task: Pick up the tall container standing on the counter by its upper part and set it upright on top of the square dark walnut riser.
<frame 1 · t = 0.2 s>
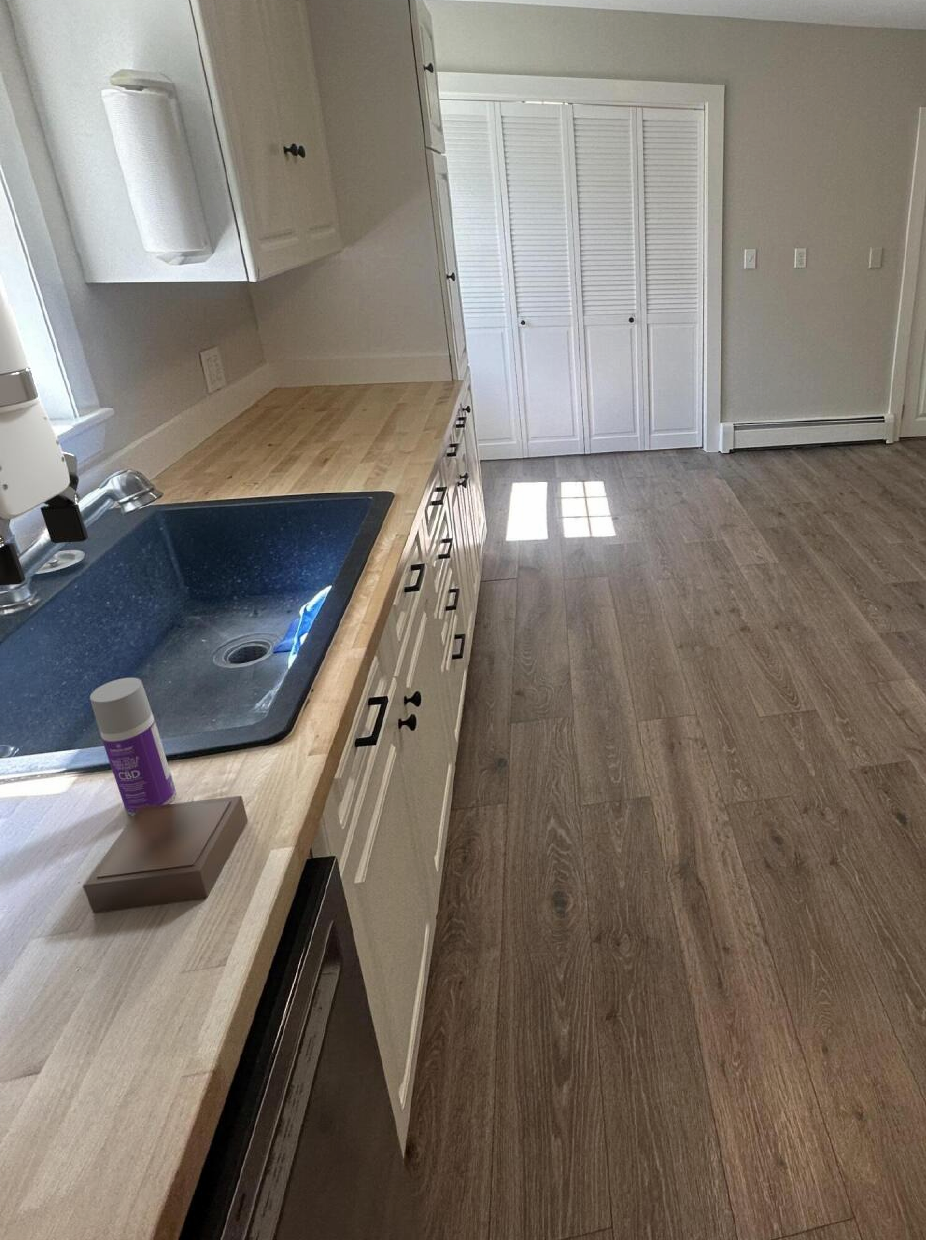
hand: (39, 561, 73), 30 cm above the counter, tool pointing down, fingers open, 9 cm apart
riser: (176, 863, 75), on the counter
container: (151, 802, 84), on the counter
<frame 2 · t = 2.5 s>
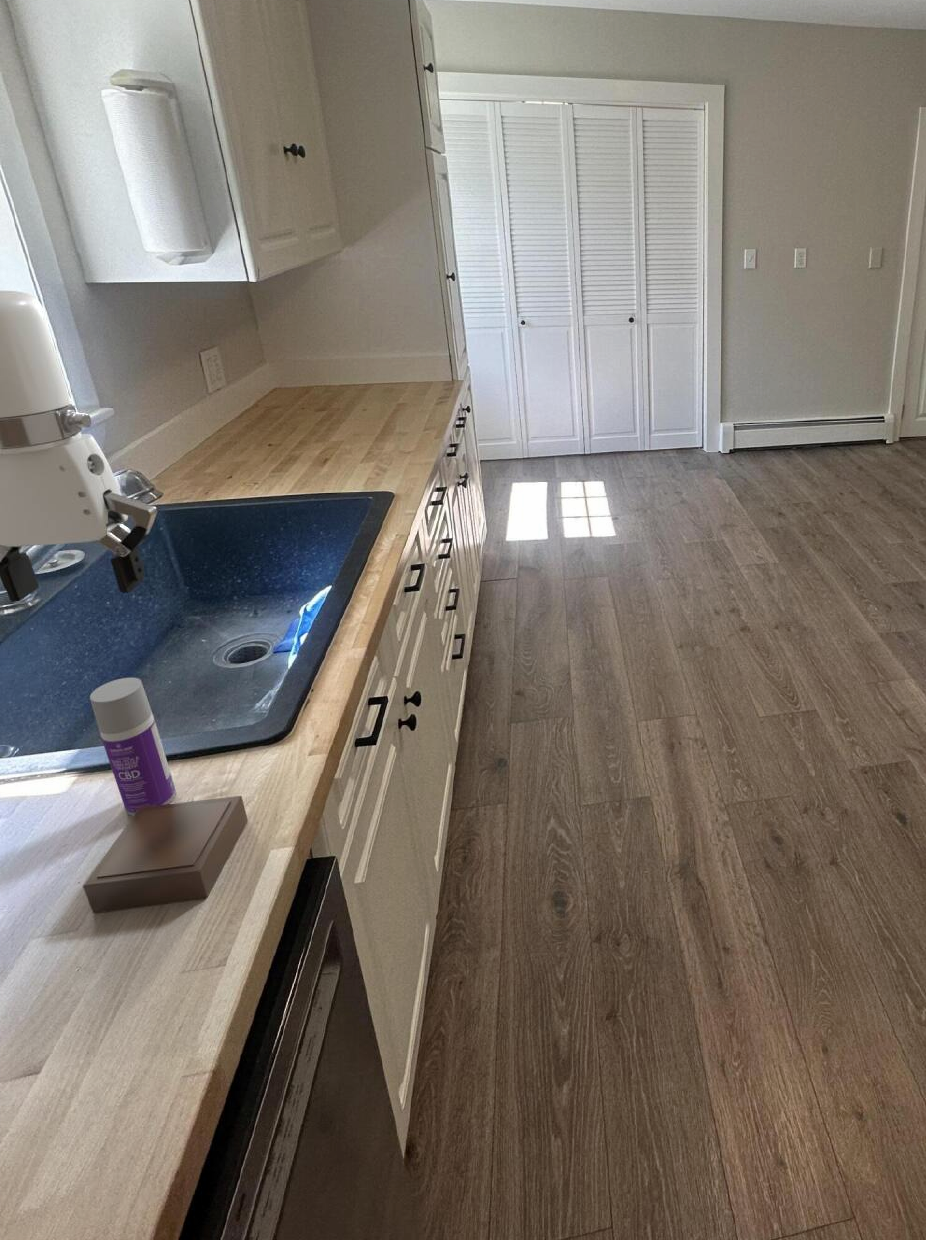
hand: (79, 591, 74), 27 cm above the counter, tool pointing down, fingers open, 9 cm apart
nothing on the counter moved.
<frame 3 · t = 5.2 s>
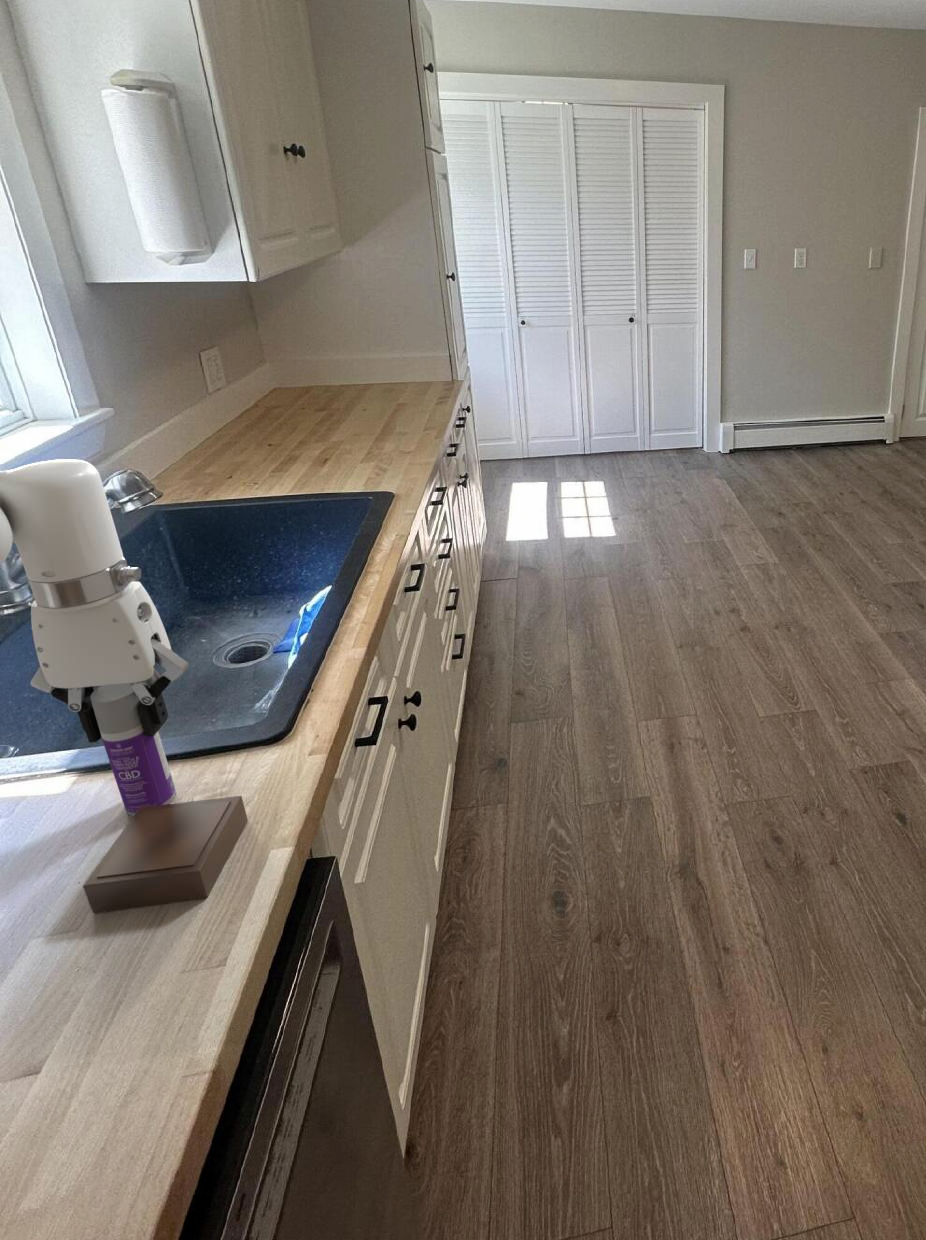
hand: (128, 729, 80), 10 cm above the counter, tool pointing down, fingers closed on container, 4 cm apart
container: (151, 802, 84), on the counter, touching gripper
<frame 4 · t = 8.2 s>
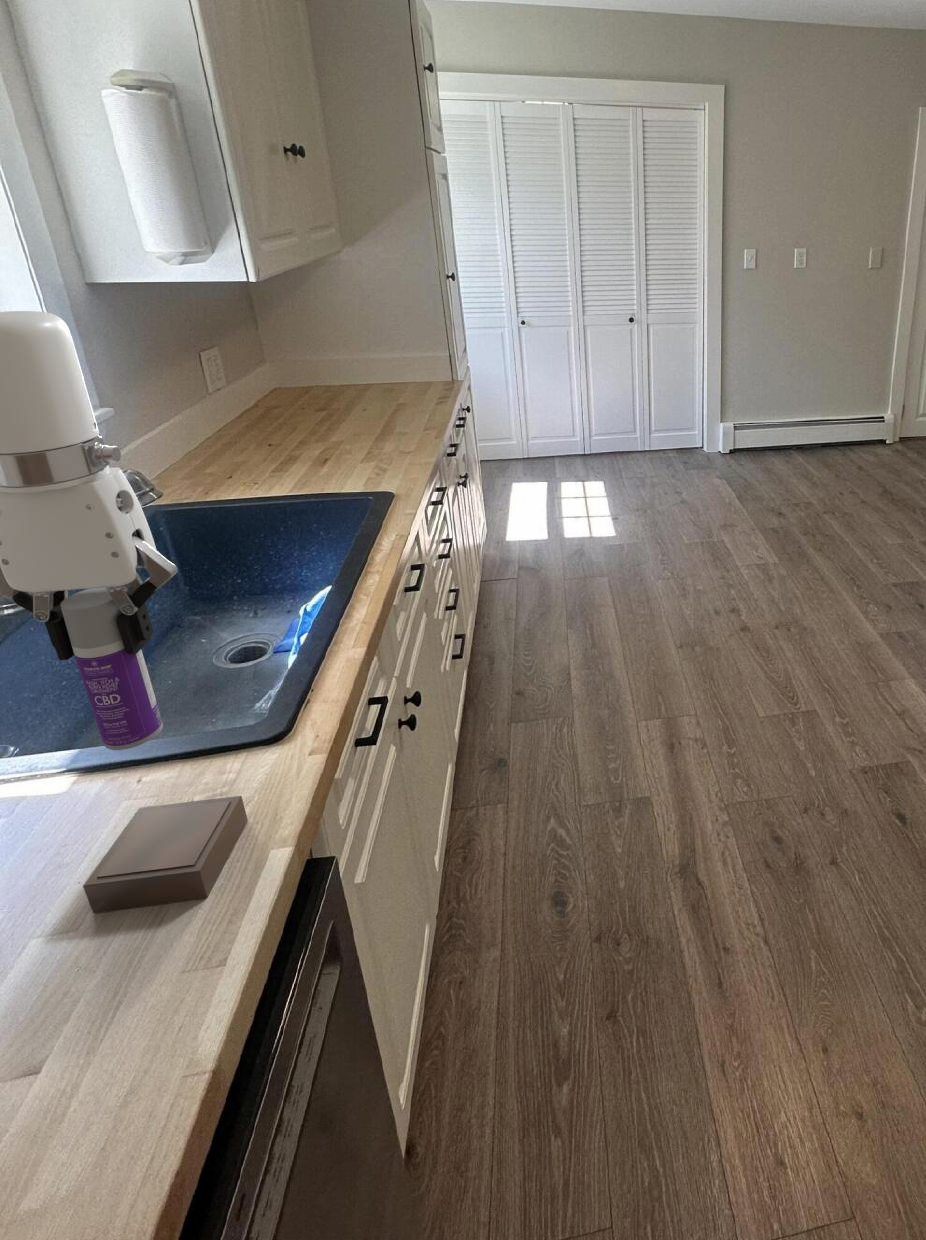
hand: (106, 647, 68), 25 cm above the counter, tool pointing down, fingers closed on container, 4 cm apart
container: (134, 735, 71), point 15 cm above the counter, touching gripper
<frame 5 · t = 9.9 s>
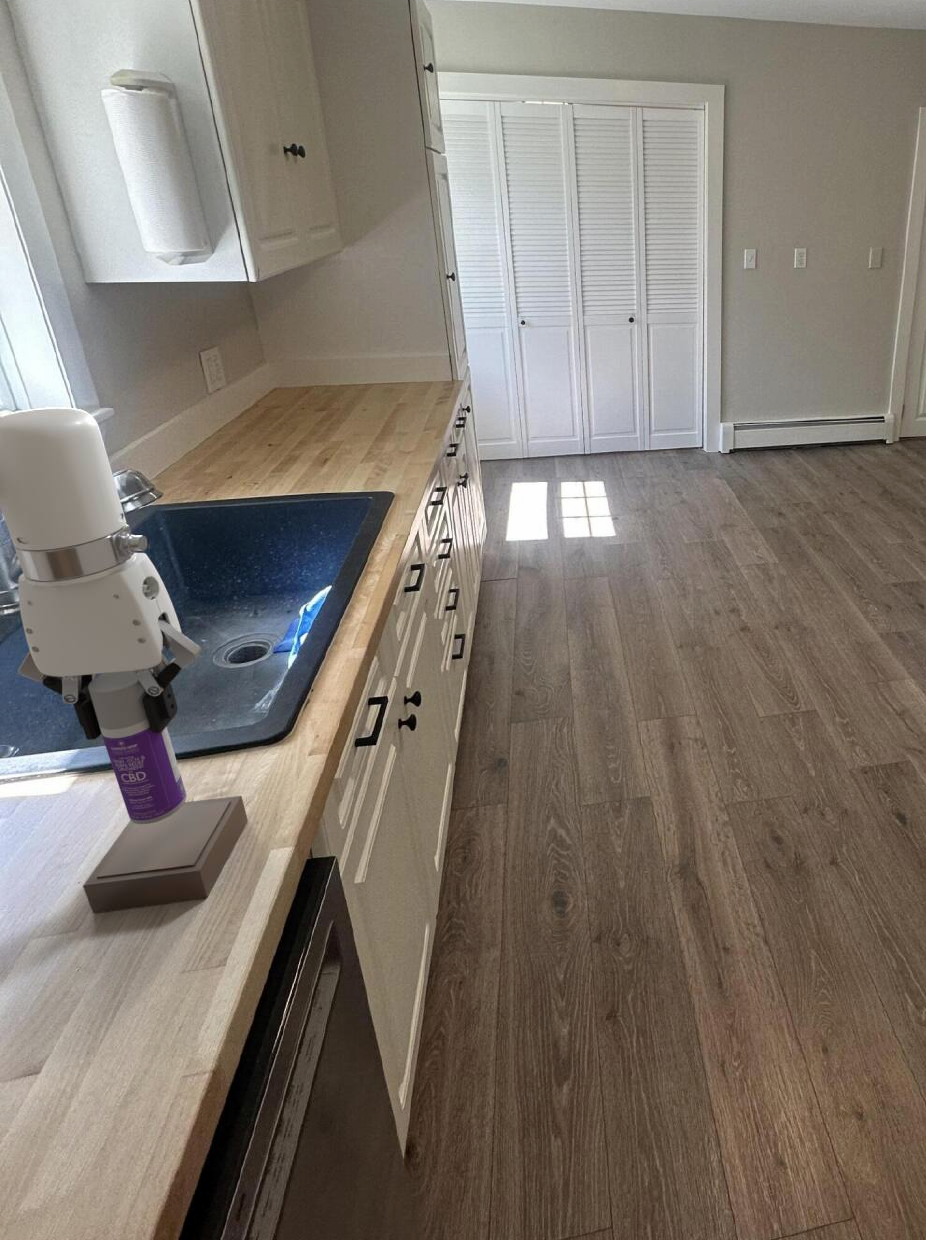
hand: (132, 725, 70), 17 cm above the counter, tool pointing down, fingers closed on container, 4 cm apart
container: (159, 808, 73), point 7 cm above the counter, touching gripper
when the fingers open (13 cm above the counter, at t = 11.2 s): container stays where it is, resting on riser.
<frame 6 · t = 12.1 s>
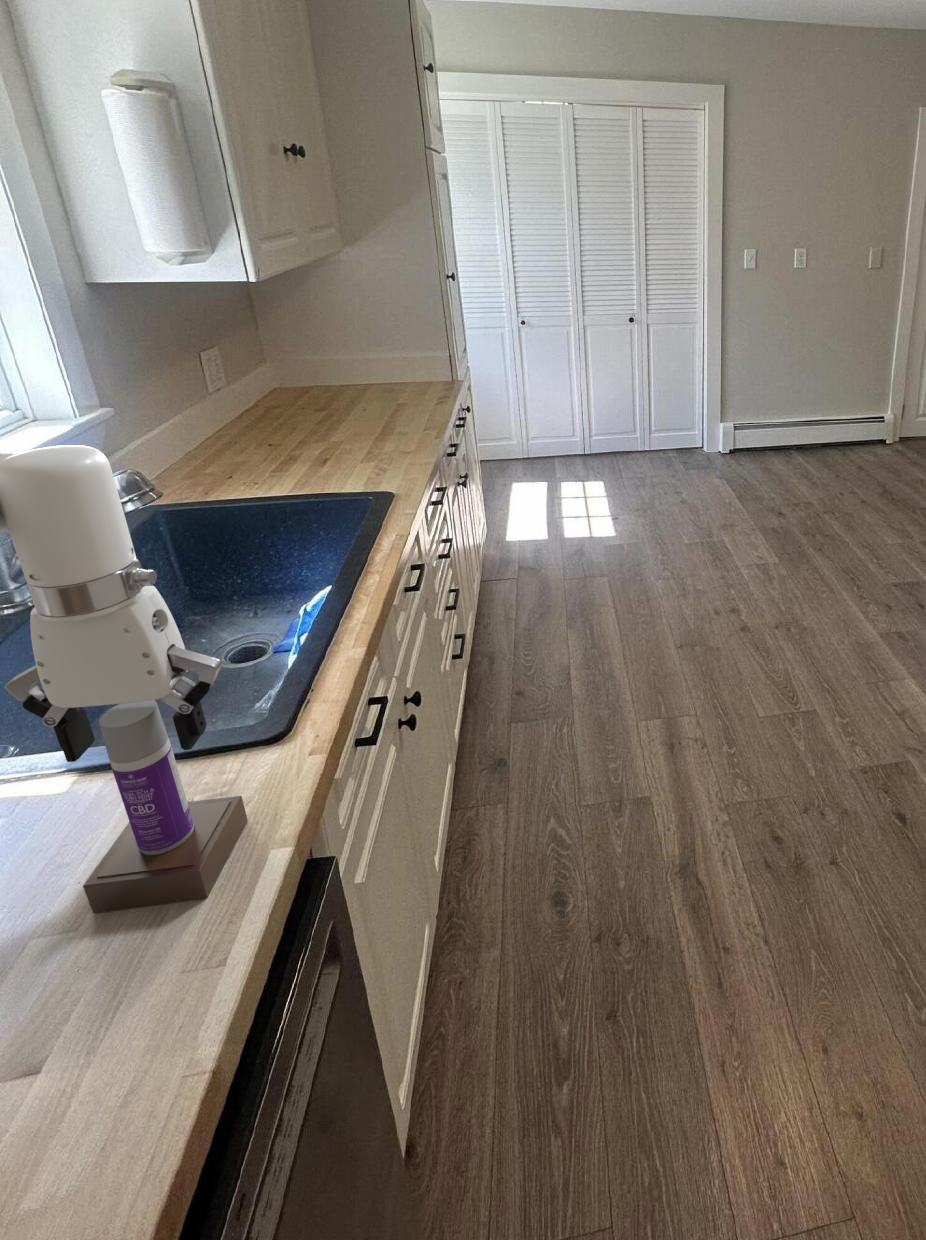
hand: (138, 745, 70), 15 cm above the counter, tool pointing down, fingers open, 9 cm apart
container: (167, 837, 74), point 3 cm above the counter, touching riser
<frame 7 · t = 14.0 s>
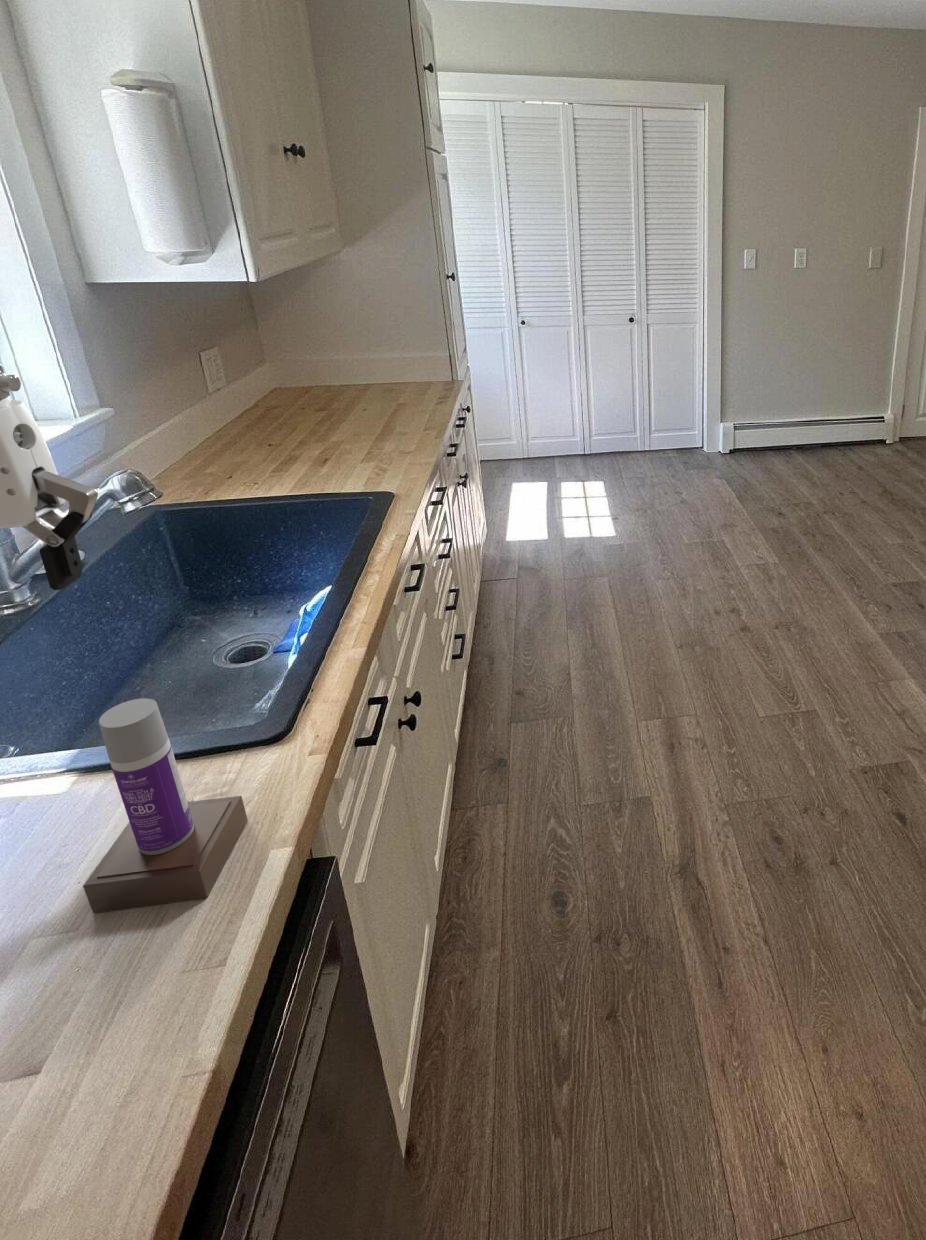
hand: (4, 585, 63), 33 cm above the counter, tool pointing down, fingers open, 9 cm apart
nothing on the counter moved.
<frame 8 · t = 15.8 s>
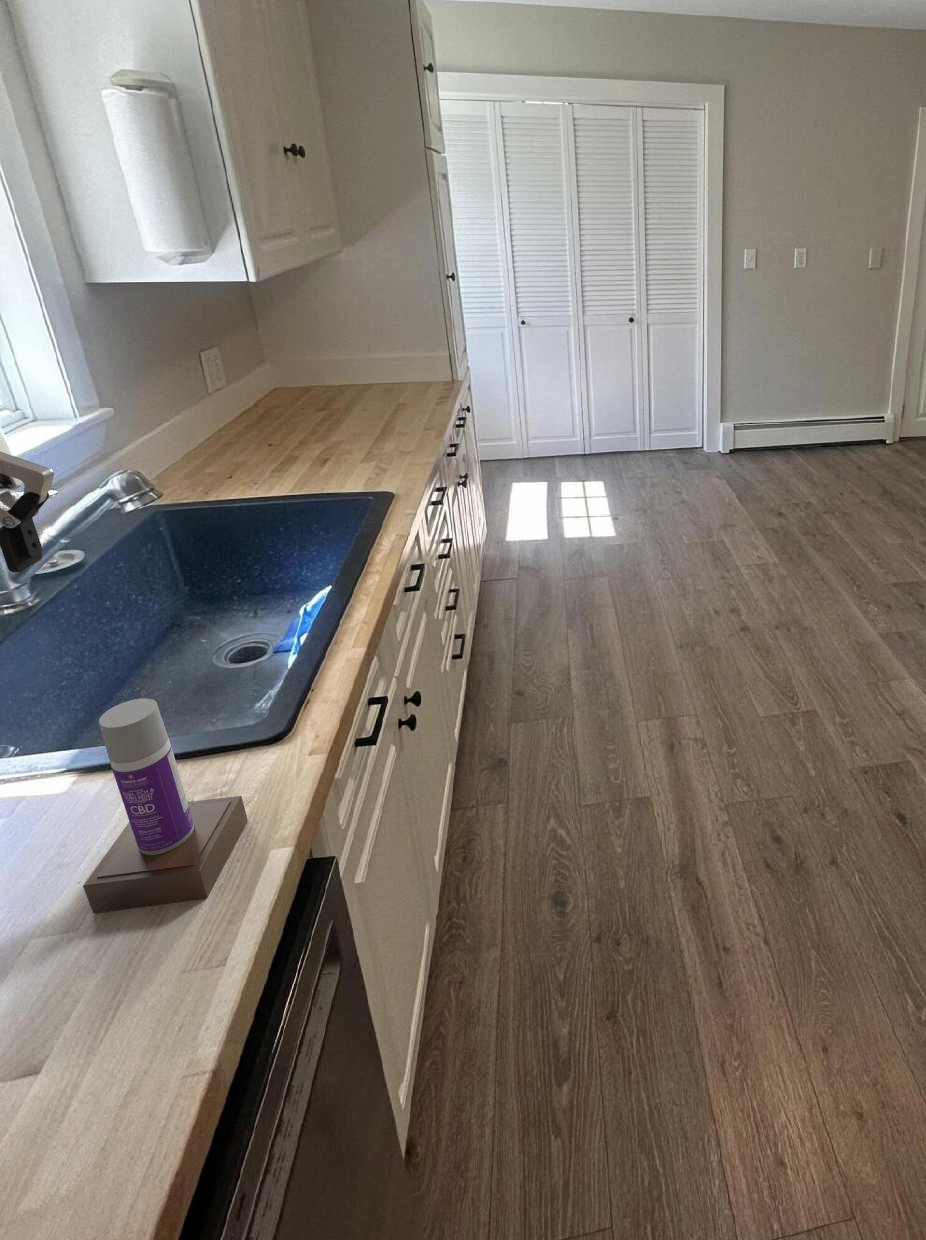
nothing on the counter moved.
at the end: container 0.1 cm off-centre on the riser, point 3.4 cm above the riser's base; container tilted 0°; the gripper is holding nothing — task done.
